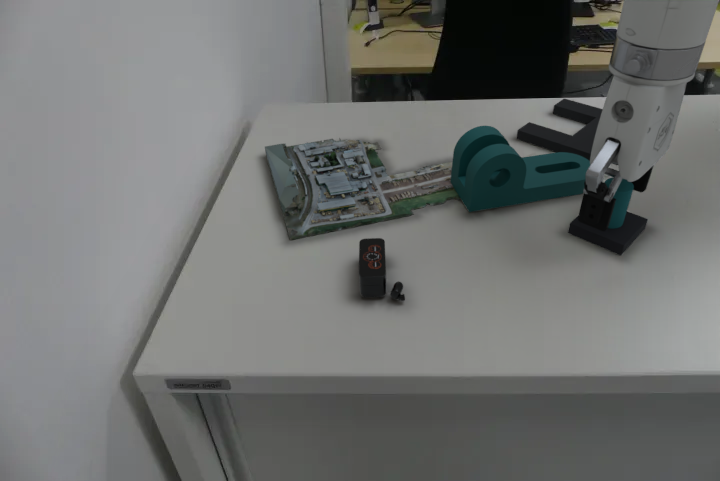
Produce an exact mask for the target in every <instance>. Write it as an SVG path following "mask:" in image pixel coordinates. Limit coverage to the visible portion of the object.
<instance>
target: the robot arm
mask: <svg viewBox="0 0 720 481" xmlns="http://www.w3.org/2000/svg"><path fill="white" fill-rule="evenodd" d="M719 2H720V0H623V4H622V8H621V12H620V16H619V21H618V25H617V29H616V32H615V33H616V34H615V37H614V41H613V46H612V51H611V53H610V54H611V55H610V59H609V63H608V71H609V72H610V73H611V74H612V75H613V77H612V80H611V83H610V85H609V89H608V91H607V94H606V98H605V100H604V104H603V106H602V109H603V110H602V113H601V116H600V120H599V123H598V127H597V130H596V134H595V138H594V142H593V146H592V151H591V157H590V167H589V168H588V170H587V171H586V175H585V178H586V180H585V182H584V190H583V193H582V194H583V195H582V199H581V202H580V203H581V204H580V207H579V212H578V215H577V216H578V221H579V222H581V223H584V224H586V225H588V226H591V227H593V228H596V229H598V230H601V231H605V230H606V229H607V228H608V227H609V223H610V220H611V216H612V213H613V209H614V206H615V202H616V199H615V198H613V196H614V194H615V192H616V191H617V189H618V187H619V185H620V183H621V181H622V179H626V180H627V181H628V182H631V183H632V184H633V185H634V189H633V191H636V192H639V193H644V192H645V191H646V190H647V188H648V185H649V182H650V178H651V176H652V172H653V170H654V166H655V164H657V162H659V160H661V159H662V157H664V156H665V154H666V153H667V152H668V150H669V148H670V146H671V144H672V140H673V137H674V133H675V129H676V126H677V122H678V119H679V115H680V111H681V108H682V104H683V100H684V95H685V92H686V88H687V83H689V82H691V81H692V80H694V78H695V75H696V72H697V69H698V66H699V63H700V60H701V57H702V53H703V52H704V51H703V50H704V48H705V44H706V42H707V38H708V35H709V32H710V29H711V26H712V23H713V20H714V17H715V15H716V11H717V8H718V5H719ZM611 165H615V166H618V170H617V169H614V168H611ZM605 175H606V176H607V177H610V178H613V177H614V178H613V180H612V182H611V184H610V186H609V188H608V187H607V185H606V183H605V182H603V181H604V180H605V179H604V177H605Z"/></svg>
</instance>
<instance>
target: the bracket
mask: <svg viewBox="0 0 720 481" xmlns="http://www.w3.org/2000/svg"><path fill="white" fill-rule="evenodd" d="M452 161H453V162H452ZM452 161H451V162H452V172H451V181H450V182H451V184H452V185H453V187H454V189H455V190H456V192H457V193H458V195H459V197H460V198H461V199H460V200H461V201H462V203H463V205H464V206H465V208H466V210H467V211H468V212H469V213H473V212H478V211H484V210H491V209H497V208H504V207H510V206H516V205H523V204H528V203H534V202H541V201H546V200H547V201H548V200H553V199H560V198H565V197H572V196H578V195H582V194H584V193H583V190H584V182H585V180H586V178H585V175H586V171H587V170H588V168H589V167H590V161H589V160H588V159H586V158H584V157H582V156H580V155H577V154H573V153H567V152H550V153H549V152H548V153H543V154H537V155H529V156H522V157H521V155H520V154H519V153H518V152H517V151H516V149H515V148H514V147H513V146H511V145H510V143H509V141H508V140H507V138H506V137H505V136H504V135H503V134H502V133H501V132H500V131H499V130H498V128H495V127H494V126H492V125H479V126H478V125H477V126H476V127H473V128H471V129H469V130H467V131H466V132H464V134H462V135H461V136H460V137H459V139H458V140H457V142H456V144H455V145H454V149H453V153H452Z"/></svg>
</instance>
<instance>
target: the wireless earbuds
mask: <svg viewBox="0 0 720 481" xmlns="http://www.w3.org/2000/svg"><path fill="white" fill-rule="evenodd" d="M358 244H359V245H358V249H359V250H358V251H359V252H358V280H359V281H358V282H359V293H360V295H361V297H363V298H366V299H367V298H370V299H371V298H384V297H385V296H386V294H387V289H388V288H387V265H386V264H387V261H386V241H385V239H383V238H381V237H376V238H375V237H371V238H362V239H360V240H359V242H358ZM403 290H404V283H403V282H402V281H399V280H398V281H396V282H395V283H394V284H393V286H392V288H391V291H390V294H389V296H390V298H391V299H393V300H395V301H396V300H398V301H400V302H404V301H406V294H404V293H402V292H403Z"/></svg>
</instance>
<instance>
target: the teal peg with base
mask: <svg viewBox="0 0 720 481" xmlns="http://www.w3.org/2000/svg"><path fill="white" fill-rule="evenodd" d="M613 178H614V177H609V178H607V179H605V181H604V183H606V185H607V187H608V188H609V186H610V184H611V182H612V180H613ZM633 189H634V185H633V184H632V183H631V182H628V181H627V180H626V179H622V181H621V183H620V185H619V187H618V189H617V191H616V192H615V194H614V196H613V198H615V199H616V202H615V206H614V209H613V213H612V216H611V220H610V223H609V227H608V228H607V229H606V230H605V231H601V230H598V229H596V228H593V227H591V226H588V225H586V224H584V223H581V222H579V221H578V215H577V216H576V217H575V218H573V220H571V222H569V226H568V230H567V234H569V235H571V236H573V237H576V238H578V239H581V240H583V241H585V242H588V243H590V244H592V245H595V246H597V247H599V248H602V249H603V250H607V251H609V252H611V253H613V254H616V255H619V256H622V255H623V254H624V253H625V252H626V251H627V250H628V249H629V247H631V245H632V244H633V243H634V242H635V241H636V240H637V239H638V238H639V236H640V235H641V234H642V233H643V232H644V231H645V229H646V227H647V224H648V222H649V219H648V218H646V217H643V216H641V215H638V214H635V213H634V212H633V213H632V212H631V211H628V208H629V205H630V202H631V198H632V195H633V192H634V190H633Z"/></svg>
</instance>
